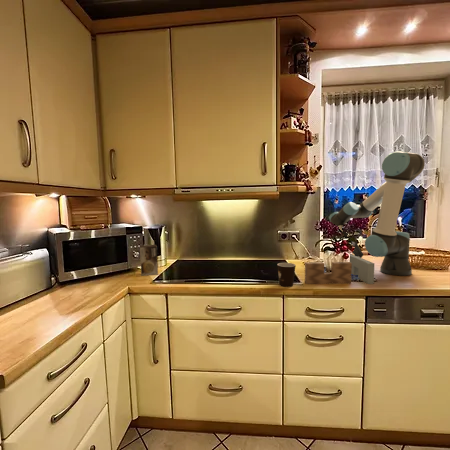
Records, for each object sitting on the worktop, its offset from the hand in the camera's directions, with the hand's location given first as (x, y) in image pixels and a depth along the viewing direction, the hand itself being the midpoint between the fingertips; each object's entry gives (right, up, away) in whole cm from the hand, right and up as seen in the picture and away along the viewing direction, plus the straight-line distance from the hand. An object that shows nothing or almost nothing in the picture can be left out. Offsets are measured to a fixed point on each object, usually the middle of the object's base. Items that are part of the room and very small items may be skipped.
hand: (353, 267), depth 158 cm
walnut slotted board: (-19, -5, -15) cm, 25 cm away
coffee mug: (-40, -6, -16) cm, 44 cm away
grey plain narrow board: (0, -4, -5) cm, 7 cm away
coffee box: (-113, -4, +5) cm, 113 cm away
